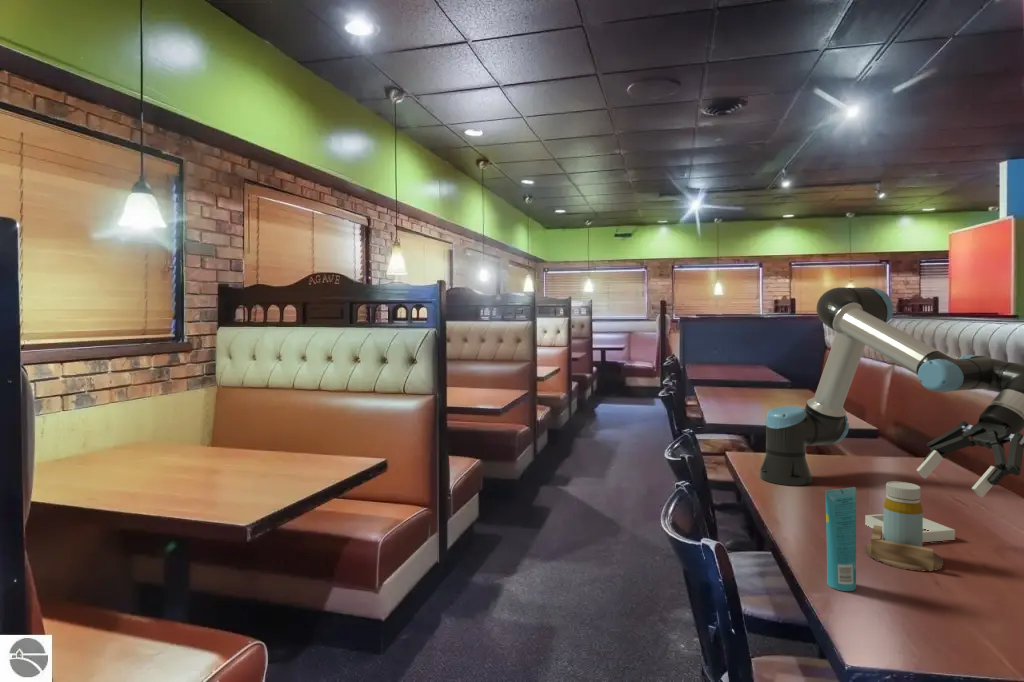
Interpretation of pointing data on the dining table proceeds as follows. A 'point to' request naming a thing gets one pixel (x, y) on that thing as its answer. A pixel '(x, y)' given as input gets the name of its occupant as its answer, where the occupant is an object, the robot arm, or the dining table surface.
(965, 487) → the dining table surface
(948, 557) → the dining table surface
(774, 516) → the dining table surface
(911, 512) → the bottle
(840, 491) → the tube
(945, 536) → the grey frame
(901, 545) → the v block
